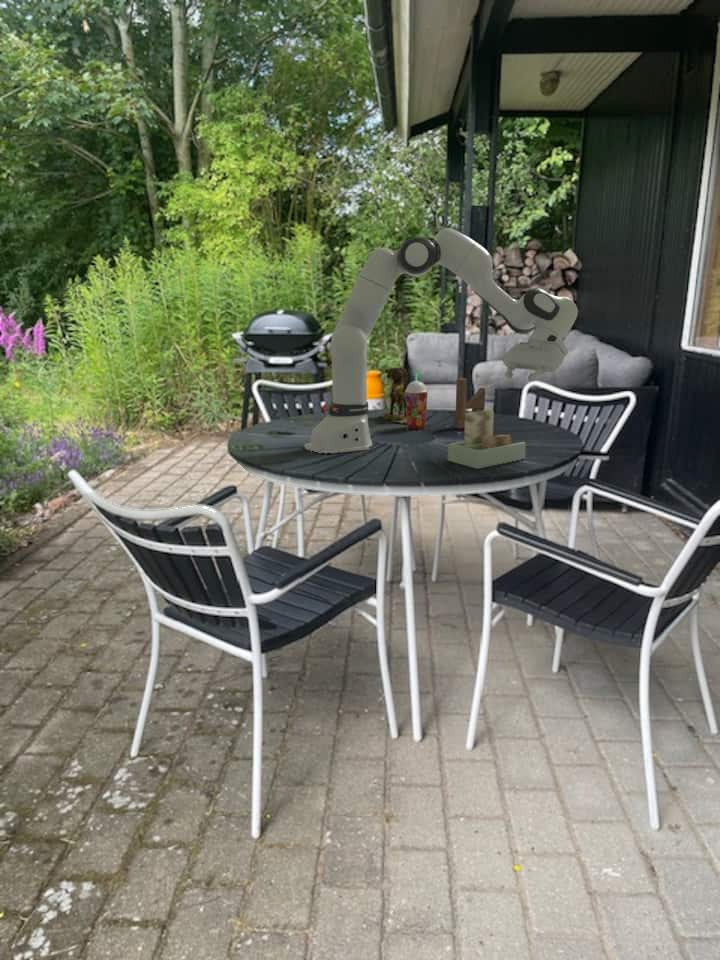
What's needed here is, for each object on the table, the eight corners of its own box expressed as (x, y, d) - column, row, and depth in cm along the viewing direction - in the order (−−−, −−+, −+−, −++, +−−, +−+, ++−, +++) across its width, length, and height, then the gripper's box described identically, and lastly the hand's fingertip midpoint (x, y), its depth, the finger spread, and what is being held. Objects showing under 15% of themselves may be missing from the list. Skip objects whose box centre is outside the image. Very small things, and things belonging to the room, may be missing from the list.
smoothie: (427, 425, 261) (428, 371, 256) (427, 430, 253) (427, 374, 248) (405, 425, 262) (405, 372, 257) (404, 429, 254) (404, 374, 249)
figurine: (407, 413, 289) (407, 364, 284) (421, 424, 265) (422, 370, 260) (376, 414, 287) (376, 365, 282) (388, 425, 263) (388, 371, 258)
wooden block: (484, 427, 258) (485, 377, 253) (458, 429, 254) (459, 379, 250) (479, 425, 261) (480, 376, 256) (453, 427, 258) (454, 378, 253)
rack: (477, 468, 197) (477, 451, 195) (447, 460, 207) (448, 443, 206) (524, 459, 207) (525, 442, 206) (494, 451, 217) (495, 436, 216)
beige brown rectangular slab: (469, 461, 206) (471, 414, 202) (463, 459, 208) (465, 413, 204) (492, 457, 210) (493, 410, 207) (486, 455, 213) (487, 409, 209)
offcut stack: (487, 464, 201) (488, 439, 199) (477, 462, 204) (478, 436, 202) (511, 460, 206) (512, 435, 204) (501, 457, 209) (502, 433, 207)
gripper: (512, 335, 221) (489, 368, 218) (564, 338, 205) (539, 374, 202) (522, 348, 225) (499, 382, 222) (573, 352, 208) (549, 388, 205)
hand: (518, 378), depth 212 cm, fingers open, 8 cm apart
